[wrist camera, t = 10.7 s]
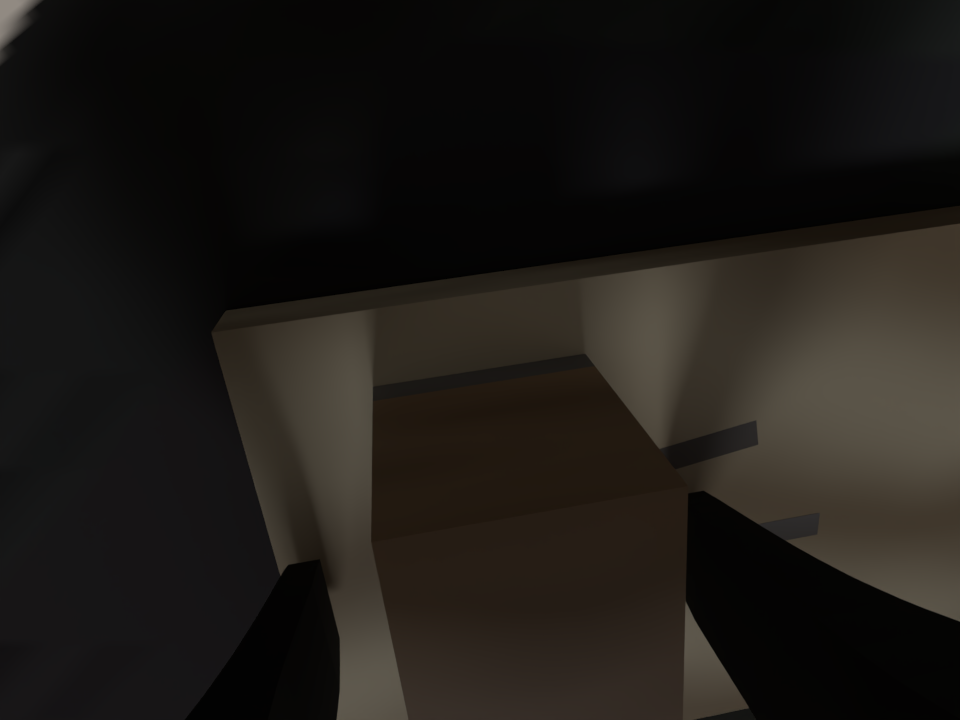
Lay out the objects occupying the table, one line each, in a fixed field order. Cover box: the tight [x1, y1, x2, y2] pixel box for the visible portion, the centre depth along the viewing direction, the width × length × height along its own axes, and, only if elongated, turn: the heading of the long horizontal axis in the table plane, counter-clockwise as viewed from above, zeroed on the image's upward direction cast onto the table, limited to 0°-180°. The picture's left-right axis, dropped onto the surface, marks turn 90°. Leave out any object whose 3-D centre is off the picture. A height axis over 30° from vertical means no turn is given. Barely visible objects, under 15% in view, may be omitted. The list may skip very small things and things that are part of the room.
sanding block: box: [371, 354, 688, 720], centre depth 12 cm, size 8×4×4 cm, turn 6°
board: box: [211, 206, 960, 720], centre depth 15 cm, size 12×16×1 cm
